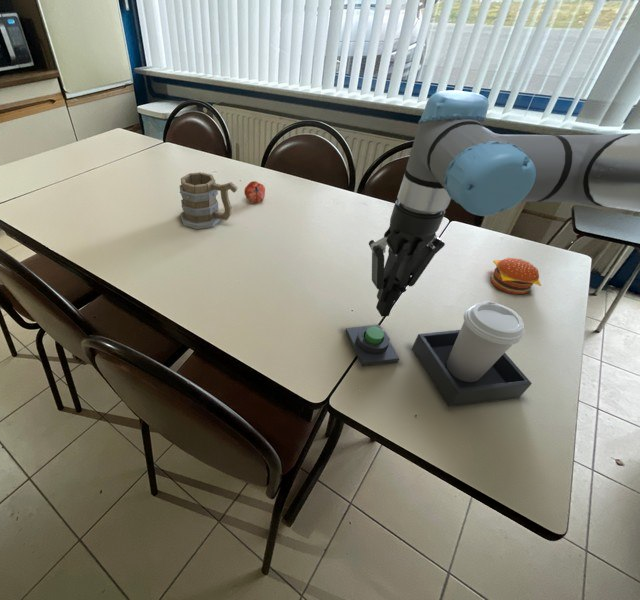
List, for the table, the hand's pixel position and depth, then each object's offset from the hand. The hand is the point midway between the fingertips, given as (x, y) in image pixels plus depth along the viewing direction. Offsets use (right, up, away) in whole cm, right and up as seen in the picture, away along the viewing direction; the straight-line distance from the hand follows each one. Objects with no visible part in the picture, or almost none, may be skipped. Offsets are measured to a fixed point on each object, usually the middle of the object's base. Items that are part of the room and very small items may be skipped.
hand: (382, 311), depth 73 cm
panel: (0, -8, +7) cm, 10 cm away
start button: (0, -6, +5) cm, 8 cm away
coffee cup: (+17, -12, +1) cm, 21 cm away
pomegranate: (-23, +38, +59) cm, 74 cm away
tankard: (-39, +28, +48) cm, 67 cm away
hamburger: (+42, +6, +23) cm, 49 cm away
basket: (+17, -12, +2) cm, 21 cm away
